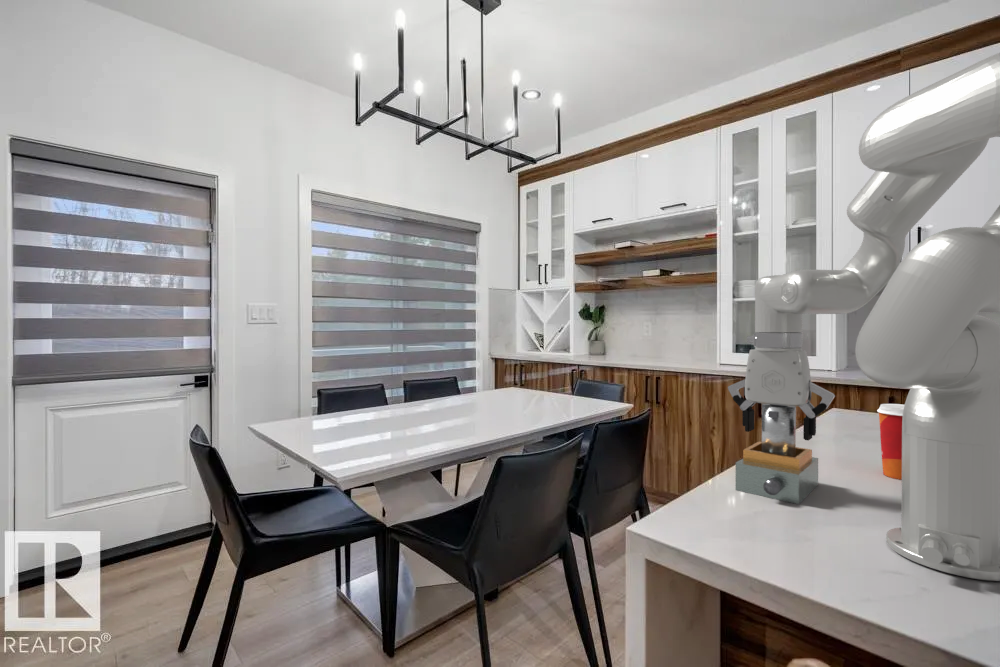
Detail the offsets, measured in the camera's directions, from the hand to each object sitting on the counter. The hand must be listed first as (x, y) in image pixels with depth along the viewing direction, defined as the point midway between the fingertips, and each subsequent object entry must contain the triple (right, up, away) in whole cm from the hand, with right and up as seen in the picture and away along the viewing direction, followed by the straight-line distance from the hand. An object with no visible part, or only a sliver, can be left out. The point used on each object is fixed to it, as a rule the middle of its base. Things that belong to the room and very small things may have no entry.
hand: (777, 434), depth 87 cm
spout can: (0, -5, 0) cm, 5 cm away
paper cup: (+28, -10, +6) cm, 30 cm away
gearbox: (-1, -10, -1) cm, 10 cm away
